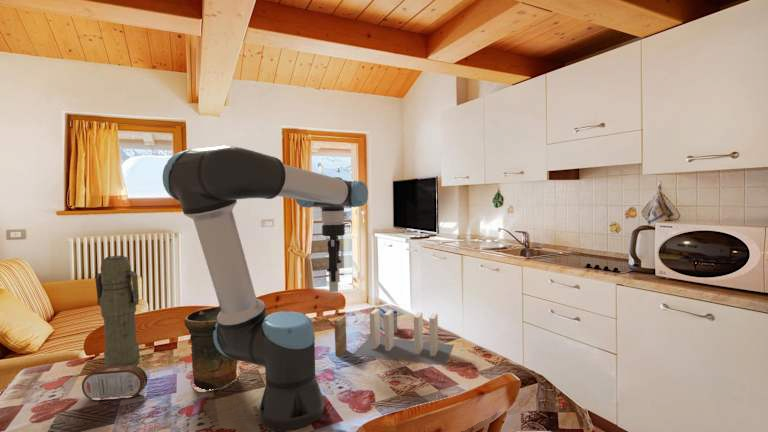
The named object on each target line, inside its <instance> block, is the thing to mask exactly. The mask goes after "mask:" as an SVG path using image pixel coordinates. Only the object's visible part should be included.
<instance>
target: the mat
mask: <svg viewBox="0 0 768 432" xmlns="http://www.w3.org/2000/svg"><path fill="white" fill-rule="evenodd" d="M454 346H455V345H454V344H449V343H439V342H438V351H437V353H436V355H435V356H430V341H429V342H428V341H423V349H422V351H421V353H420V354H415V347H414V340H409V339H400V338H394V346H393V347H392V349H391V350H390V351H385V337H381V336H380V345H379V346H378V347H377V348H376V349H371V340H370V336H369V337H368V338H367V339H366V340H365V341H364V342H363V343H362V344H361V345H360V346H359V347H358V348H356V349H355V351H354V352H353V353H352V355H356V356H365V357H372V358H378V359H379V358H380V359H390V360H397V361H405V362H413V363H421V364H430V365H438V366H439V365H440V366H446V365H447V361H448V360H449V358H450V355H451V352H452V350H453V347H454Z"/></svg>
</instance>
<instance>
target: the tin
mask: <svg viewBox="0 0 768 432" xmlns="http://www.w3.org/2000/svg"><path fill="white" fill-rule="evenodd" d="M81 382H82V383H81V390H82V393H83V394H84V396H85V397H86V398H87V399H89V400H91V399H92V398H109V397H120V396H135V397H136V395H137V396H138V395H139V394H141V392H142V391H143V390H144V389H145V388H146V387H147V383H148V376H147V374H146V372H145V370H144V369H143V368H142V367H140V366H139V367H137V366H134V365H127V366H113V367H106V366H100V367H99V366H98V367H96V368H94V369H92V370H91V371H90V372H89V373H88V374H87V375H86V376H85V377H84V378H83V380H82V381H81Z"/></svg>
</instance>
